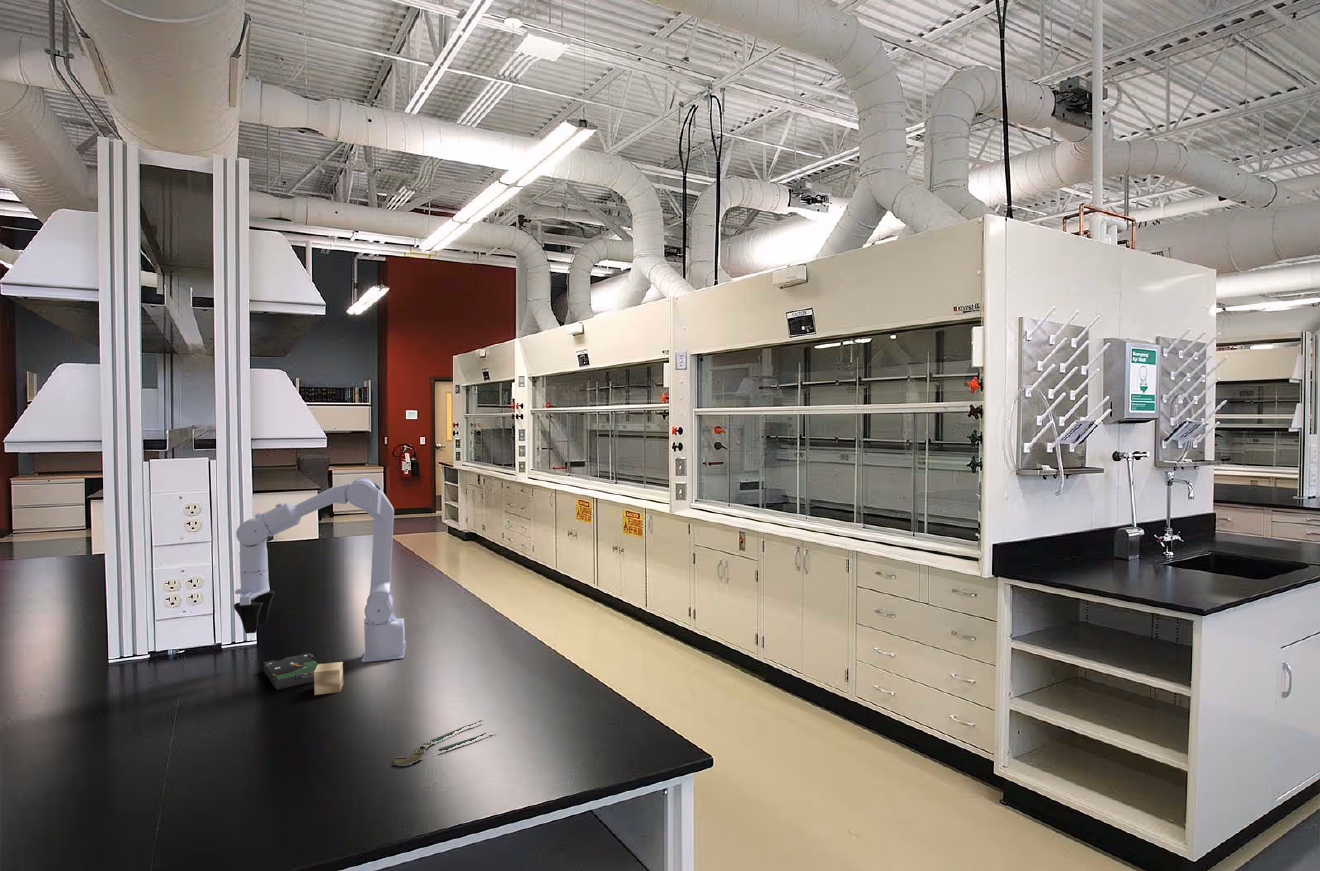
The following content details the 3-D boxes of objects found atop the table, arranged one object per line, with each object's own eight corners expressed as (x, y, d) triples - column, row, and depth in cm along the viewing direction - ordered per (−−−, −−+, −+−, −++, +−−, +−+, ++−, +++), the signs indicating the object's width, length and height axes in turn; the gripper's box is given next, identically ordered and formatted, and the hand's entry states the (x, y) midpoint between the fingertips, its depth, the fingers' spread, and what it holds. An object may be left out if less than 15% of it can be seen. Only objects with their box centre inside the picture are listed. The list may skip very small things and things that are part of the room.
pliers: (482, 725, 139) (482, 718, 139) (501, 734, 135) (501, 727, 135) (384, 760, 125) (383, 753, 125) (401, 772, 120) (401, 764, 120)
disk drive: (262, 674, 168) (276, 692, 156) (262, 662, 168) (276, 679, 156) (310, 663, 175) (327, 680, 163) (310, 652, 174) (327, 667, 163)
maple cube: (343, 683, 160) (342, 661, 160) (340, 692, 155) (339, 669, 155) (318, 686, 158) (317, 664, 158) (314, 695, 153) (313, 672, 153)
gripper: (245, 564, 174) (247, 620, 175) (223, 578, 160) (226, 638, 160) (277, 563, 176) (279, 618, 176) (258, 576, 161) (260, 636, 162)
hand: (256, 627), depth 168 cm, fingers open, 7 cm apart
